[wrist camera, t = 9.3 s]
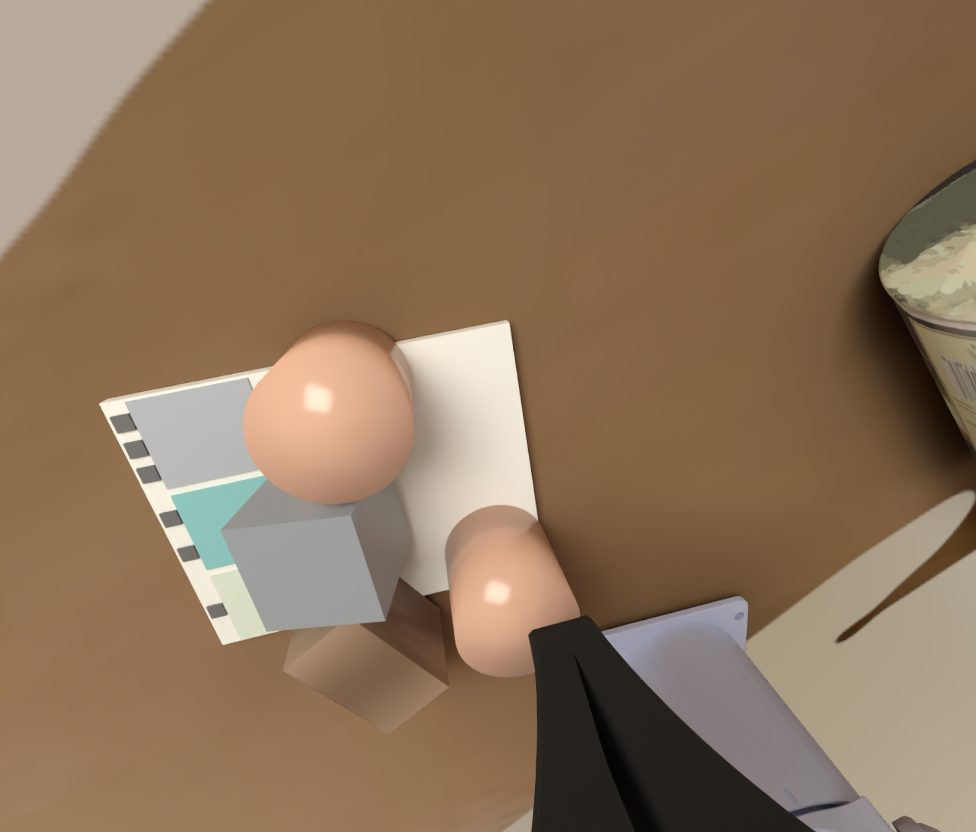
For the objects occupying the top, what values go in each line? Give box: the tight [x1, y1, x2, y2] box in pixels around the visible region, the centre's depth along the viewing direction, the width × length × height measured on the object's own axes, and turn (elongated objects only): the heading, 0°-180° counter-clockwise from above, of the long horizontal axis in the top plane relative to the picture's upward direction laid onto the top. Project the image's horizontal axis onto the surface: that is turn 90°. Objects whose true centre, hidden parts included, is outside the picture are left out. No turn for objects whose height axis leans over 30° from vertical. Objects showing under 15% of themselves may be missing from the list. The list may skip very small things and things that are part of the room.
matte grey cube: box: [220, 479, 410, 632], centre depth 17 cm, size 4×4×4 cm
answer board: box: [100, 320, 538, 645], centre depth 19 cm, size 11×14×1 cm
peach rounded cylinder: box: [445, 505, 580, 677], centre depth 19 cm, size 4×4×4 cm
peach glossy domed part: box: [243, 321, 414, 504], centre depth 15 cm, size 4×4×4 cm
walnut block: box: [283, 577, 449, 734], centre depth 19 cm, size 5×3×4 cm, turn 39°
